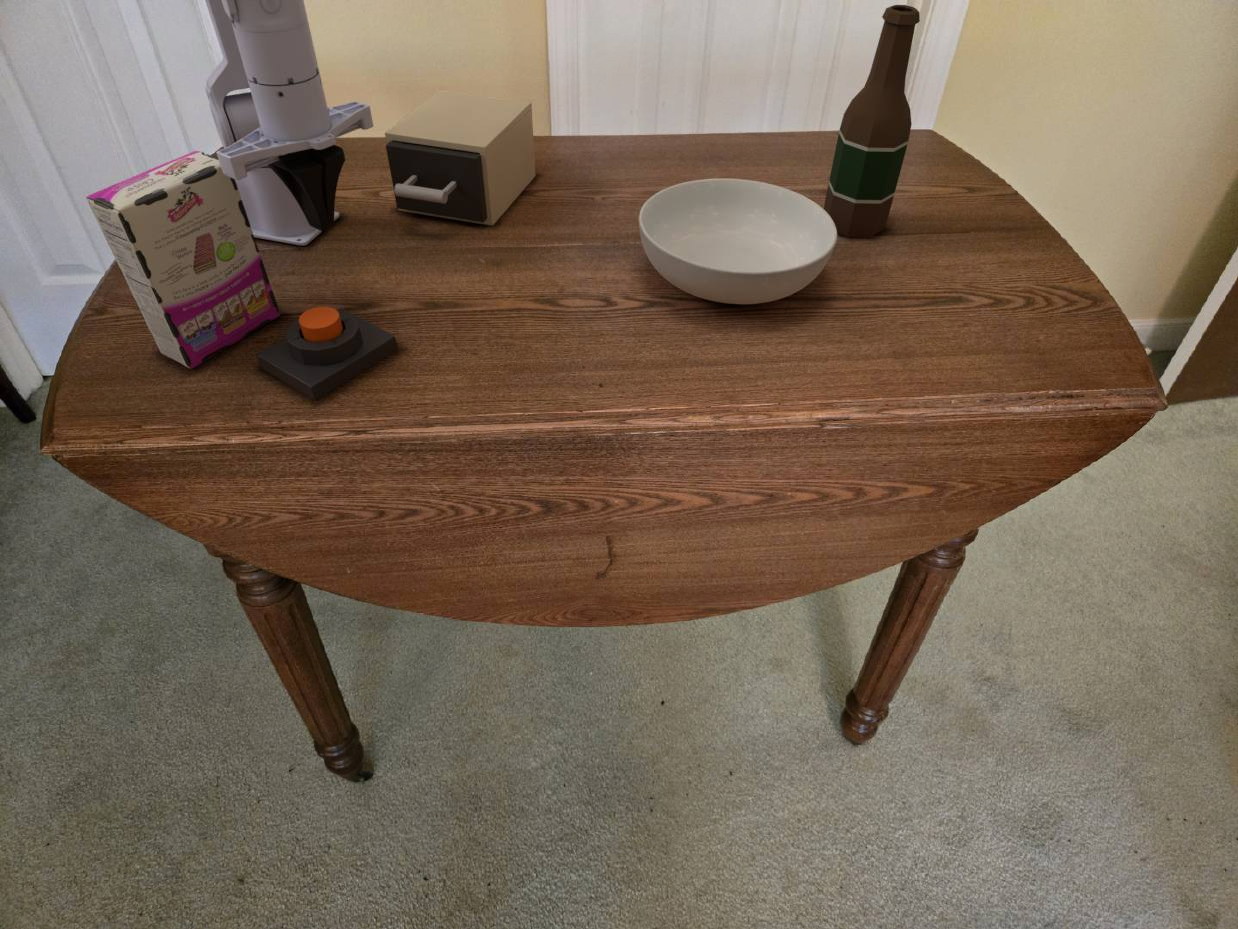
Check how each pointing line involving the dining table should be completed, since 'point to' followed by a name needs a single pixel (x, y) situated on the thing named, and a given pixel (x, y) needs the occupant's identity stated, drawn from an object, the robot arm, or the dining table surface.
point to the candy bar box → (187, 256)
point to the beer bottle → (874, 135)
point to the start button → (320, 324)
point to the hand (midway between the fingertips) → (321, 225)
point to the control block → (327, 356)
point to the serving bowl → (736, 239)
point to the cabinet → (478, 140)
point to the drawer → (437, 180)
